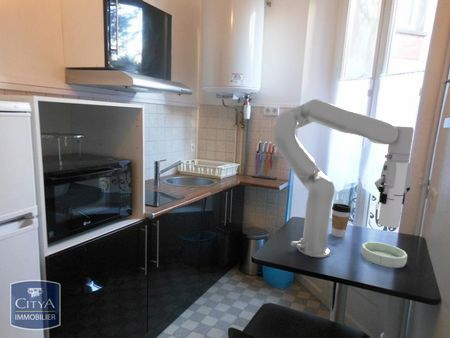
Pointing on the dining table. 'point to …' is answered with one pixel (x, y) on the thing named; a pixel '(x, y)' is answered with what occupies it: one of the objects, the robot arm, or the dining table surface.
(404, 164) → the cylindrical container
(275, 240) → the dining table surface
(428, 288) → the dining table surface
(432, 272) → the dining table surface
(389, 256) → the dish
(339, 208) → the coffee cup
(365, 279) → the dining table surface
